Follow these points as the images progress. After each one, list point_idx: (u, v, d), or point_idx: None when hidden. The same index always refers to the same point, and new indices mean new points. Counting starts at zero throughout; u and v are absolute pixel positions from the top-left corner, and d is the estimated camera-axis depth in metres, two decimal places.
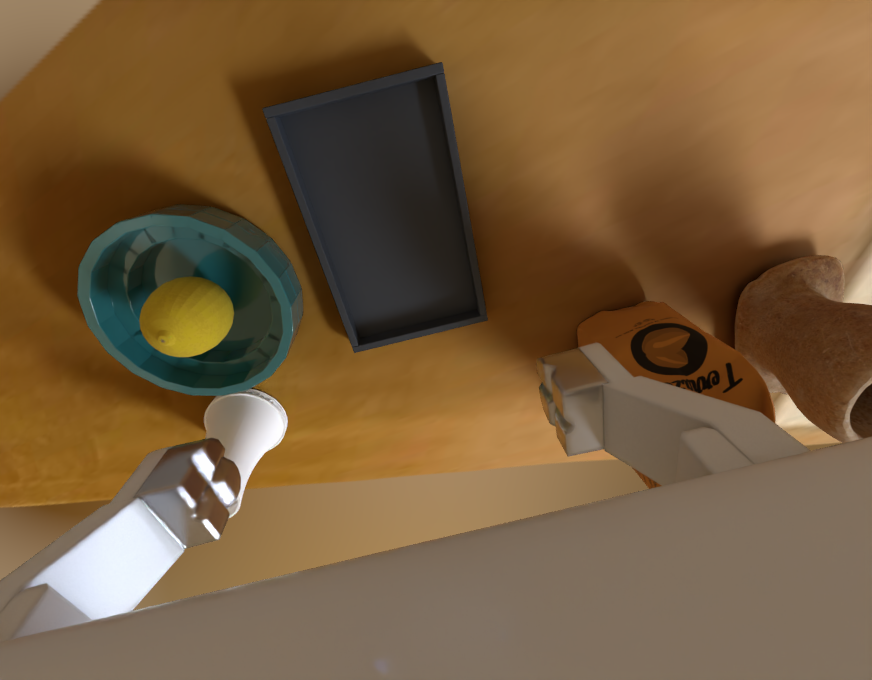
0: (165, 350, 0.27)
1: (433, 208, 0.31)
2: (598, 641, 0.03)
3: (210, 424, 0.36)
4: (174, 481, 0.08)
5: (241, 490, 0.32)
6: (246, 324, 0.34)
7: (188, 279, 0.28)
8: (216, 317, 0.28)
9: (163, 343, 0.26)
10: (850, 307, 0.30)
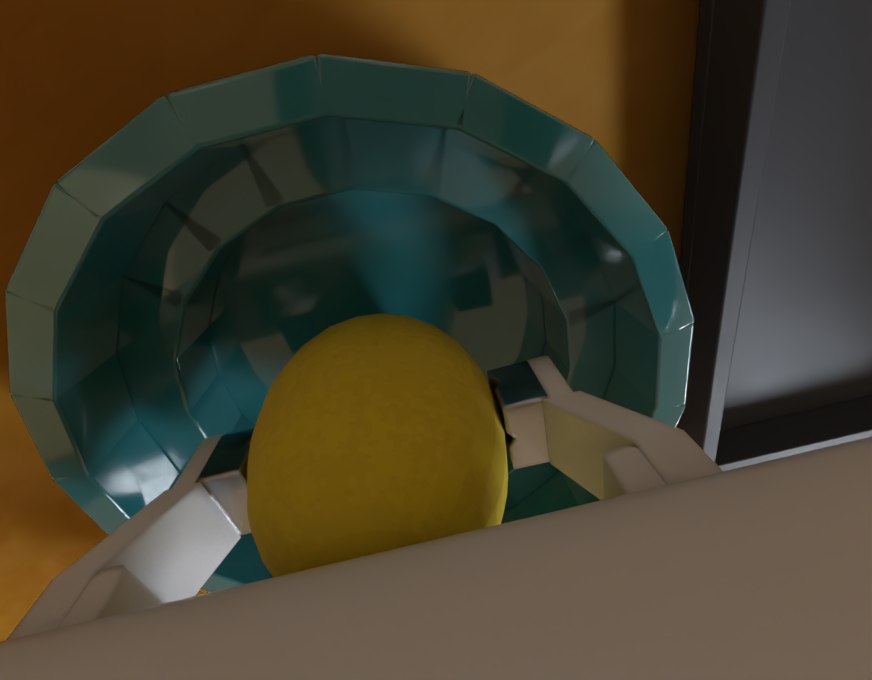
0: None
1: None
2: (598, 641, 0.04)
3: None
4: (235, 466, 0.08)
5: None
6: None
7: (398, 329, 0.08)
8: (506, 465, 0.08)
9: None
10: None
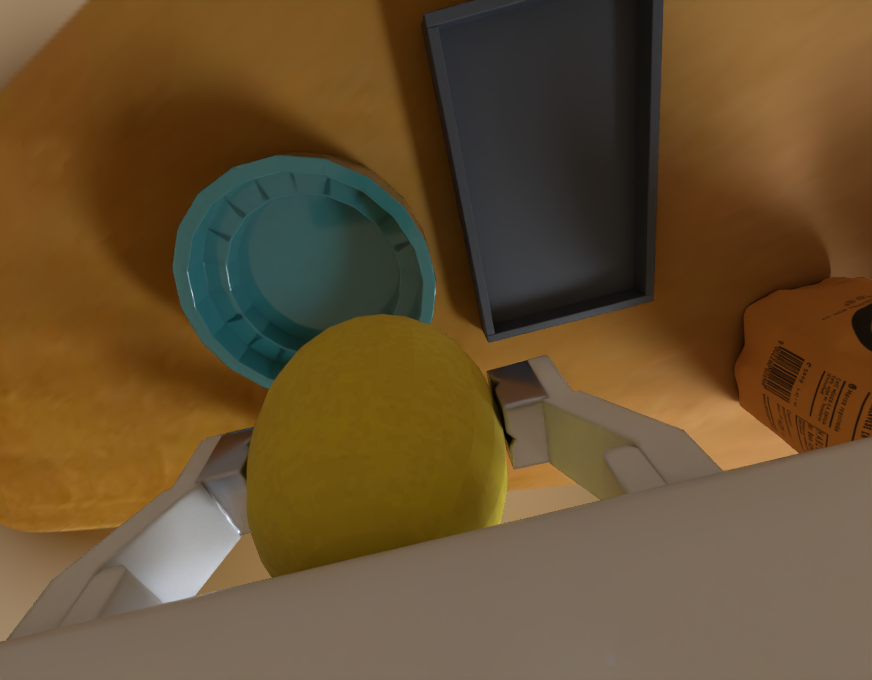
0: None
1: (606, 158, 0.25)
2: (598, 641, 0.04)
3: None
4: (234, 466, 0.08)
5: None
6: (358, 308, 0.28)
7: (397, 330, 0.08)
8: (505, 466, 0.08)
9: None
10: None
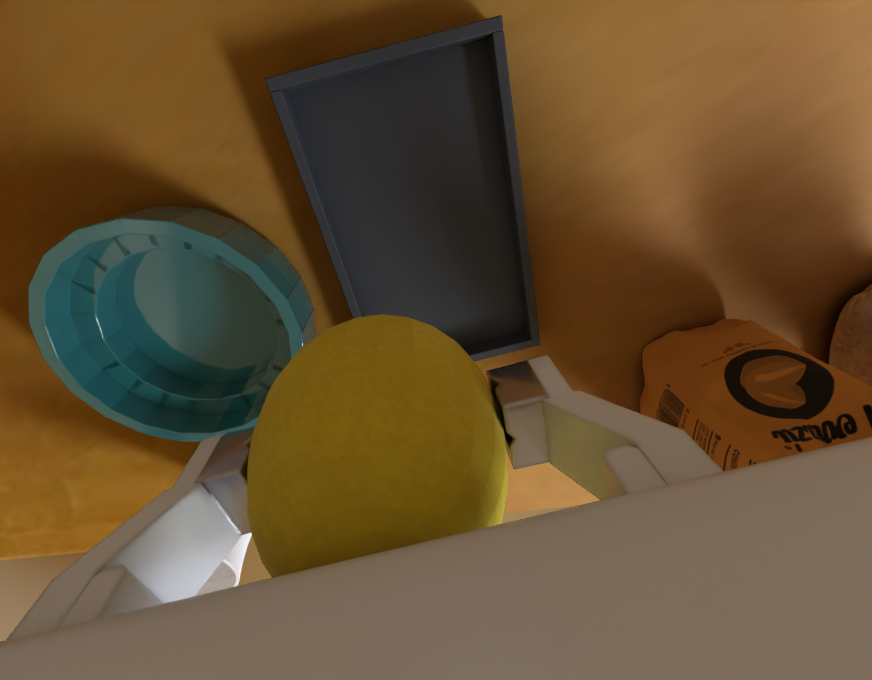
0: None
1: (479, 208, 0.25)
2: (598, 641, 0.04)
3: None
4: (235, 466, 0.08)
5: (240, 561, 0.25)
6: (246, 351, 0.28)
7: (398, 330, 0.08)
8: (506, 467, 0.08)
9: None
10: None
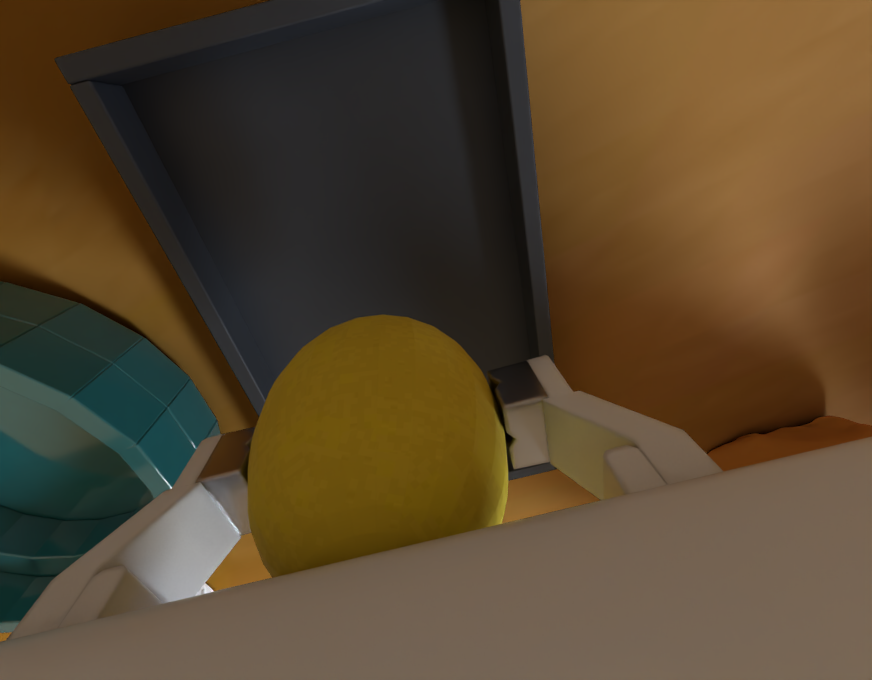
0: None
1: (471, 276, 0.16)
2: (598, 641, 0.04)
3: None
4: (234, 466, 0.08)
5: None
6: (121, 479, 0.19)
7: (398, 330, 0.08)
8: (506, 467, 0.08)
9: None
10: None
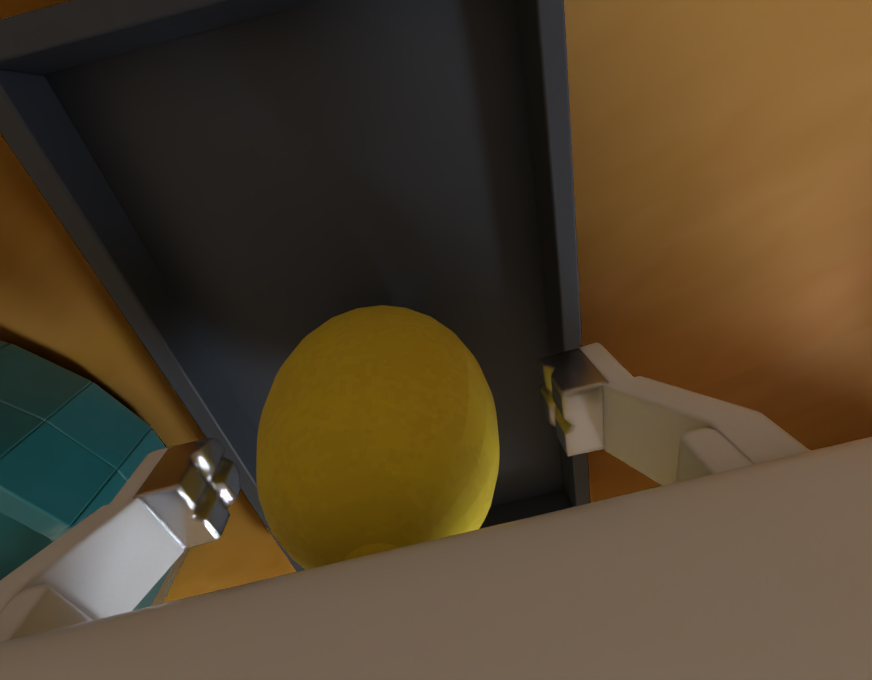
0: None
1: (487, 308, 0.13)
2: (598, 641, 0.04)
3: None
4: (174, 481, 0.08)
5: None
6: None
7: (397, 318, 0.09)
8: (497, 446, 0.08)
9: None
10: None
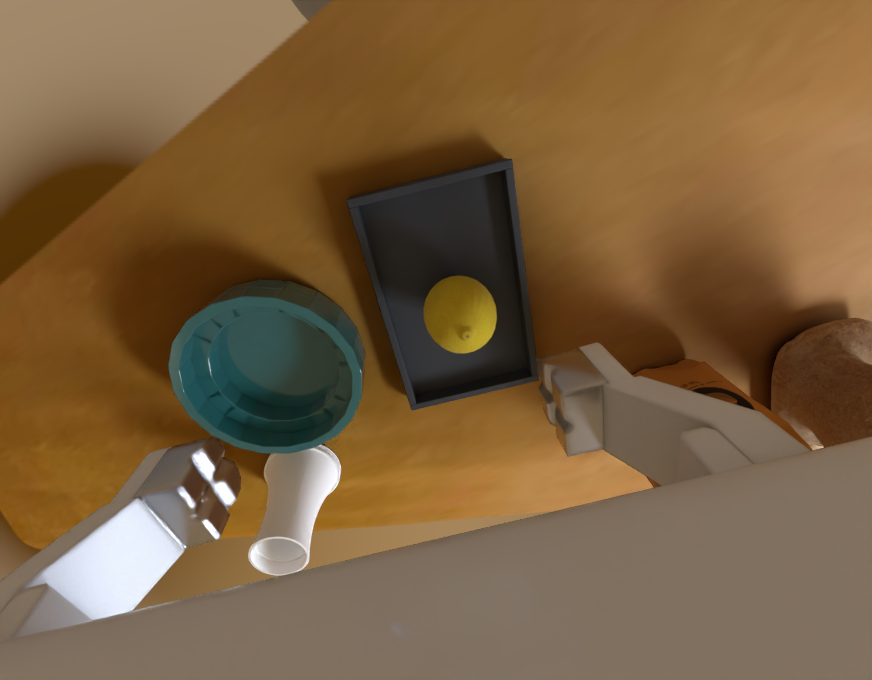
0: (459, 346, 0.28)
1: (492, 280, 0.33)
2: (598, 641, 0.04)
3: (273, 477, 0.38)
4: (174, 481, 0.08)
5: (309, 545, 0.33)
6: (311, 383, 0.36)
7: (466, 278, 0.29)
8: (496, 314, 0.29)
9: (467, 338, 0.27)
10: None
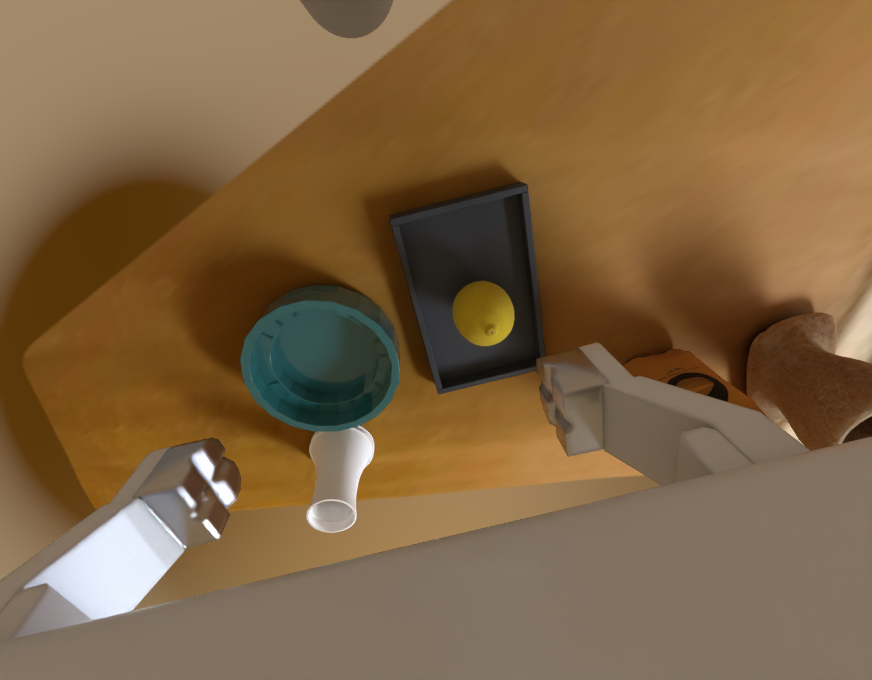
0: (484, 340, 0.34)
1: (508, 283, 0.39)
2: (598, 641, 0.04)
3: (319, 452, 0.44)
4: (174, 481, 0.08)
5: (355, 507, 0.40)
6: (352, 372, 0.42)
7: (488, 283, 0.35)
8: None
9: (491, 334, 0.33)
10: (840, 362, 0.38)
